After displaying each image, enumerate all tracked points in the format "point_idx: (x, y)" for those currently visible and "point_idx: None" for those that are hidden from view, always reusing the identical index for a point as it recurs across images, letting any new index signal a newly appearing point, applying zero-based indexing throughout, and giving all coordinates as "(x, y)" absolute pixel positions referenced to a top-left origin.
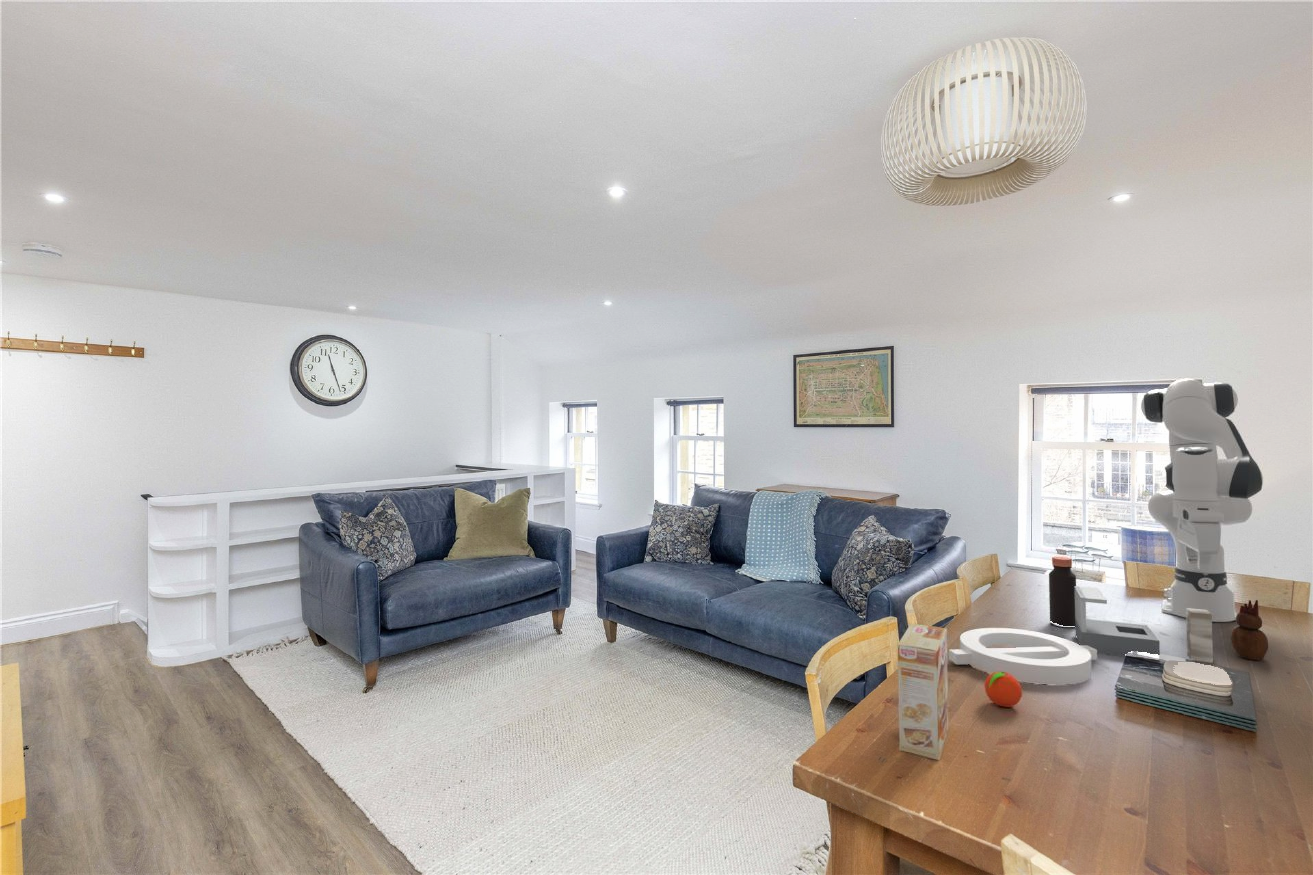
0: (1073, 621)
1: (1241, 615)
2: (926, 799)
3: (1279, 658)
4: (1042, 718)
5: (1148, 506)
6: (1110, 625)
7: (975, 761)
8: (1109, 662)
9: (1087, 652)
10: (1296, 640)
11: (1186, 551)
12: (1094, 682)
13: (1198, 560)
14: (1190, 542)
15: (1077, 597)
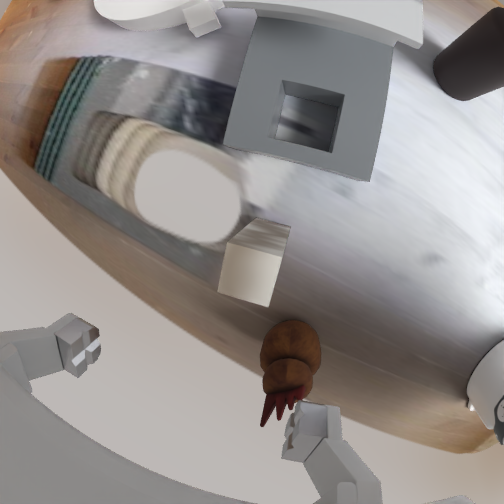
0: (443, 78)
1: (281, 376)
2: (10, 7)
3: None
4: (51, 15)
5: None
6: (344, 84)
7: (23, 7)
8: (204, 57)
9: (143, 14)
10: (383, 427)
11: (341, 463)
12: (116, 35)
13: (41, 335)
14: (1, 428)
15: None
